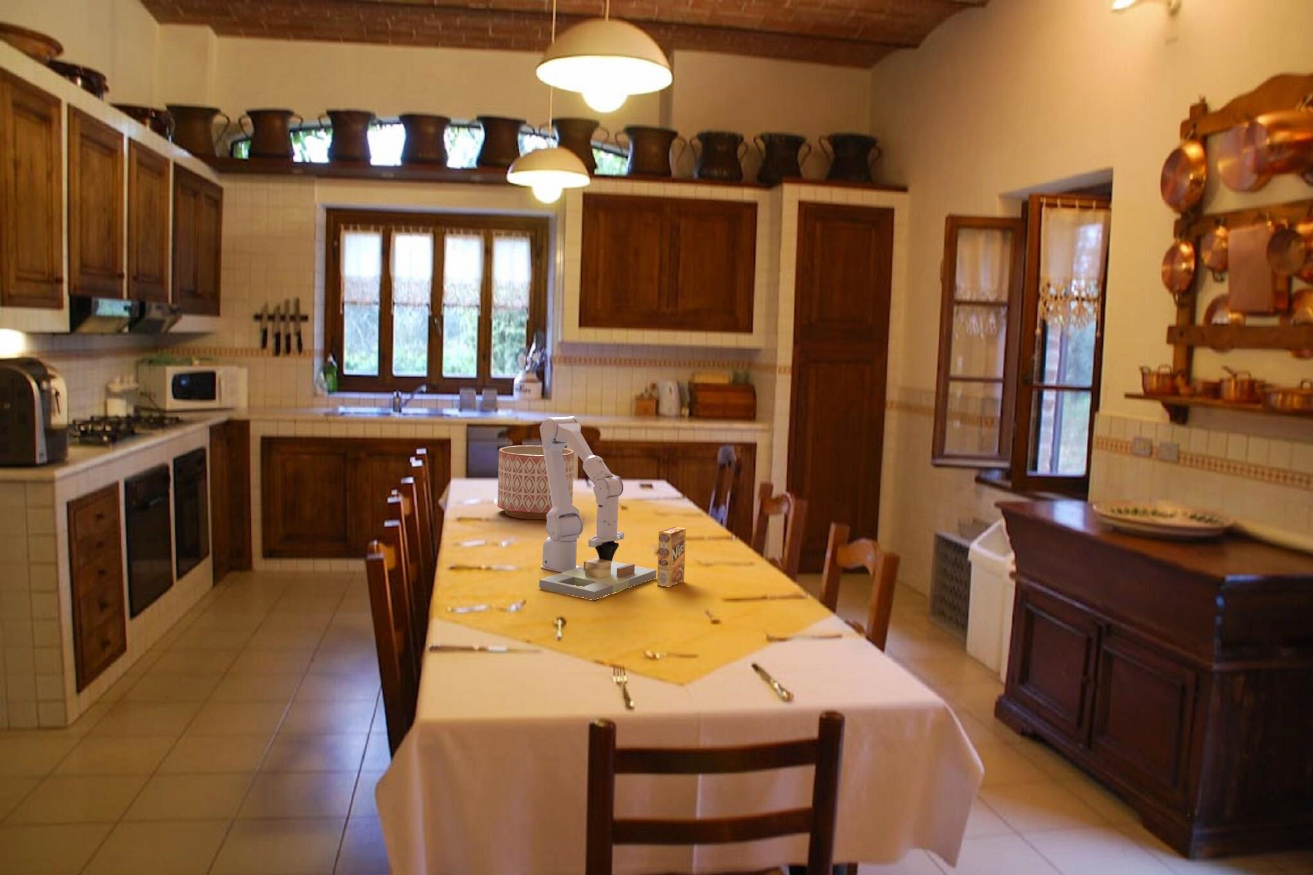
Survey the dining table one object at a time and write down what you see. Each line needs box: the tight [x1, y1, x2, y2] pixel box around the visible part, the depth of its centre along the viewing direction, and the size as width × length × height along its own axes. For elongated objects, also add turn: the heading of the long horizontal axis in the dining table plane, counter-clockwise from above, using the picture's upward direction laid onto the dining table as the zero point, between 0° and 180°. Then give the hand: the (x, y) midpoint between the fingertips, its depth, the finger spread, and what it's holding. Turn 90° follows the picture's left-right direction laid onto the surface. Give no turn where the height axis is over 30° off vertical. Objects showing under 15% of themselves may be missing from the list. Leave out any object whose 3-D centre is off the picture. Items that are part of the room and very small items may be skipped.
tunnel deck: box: [538, 556, 657, 600], centre depth 272 cm, size 18×30×5 cm, turn 148°
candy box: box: [656, 526, 687, 587], centre depth 275 cm, size 9×4×15 cm, turn 150°
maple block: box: [585, 557, 611, 579], centre depth 271 cm, size 5×5×4 cm
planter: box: [497, 444, 575, 520], centre depth 365 cm, size 27×27×24 cm
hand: (605, 568), depth 274 cm, fingers closed
